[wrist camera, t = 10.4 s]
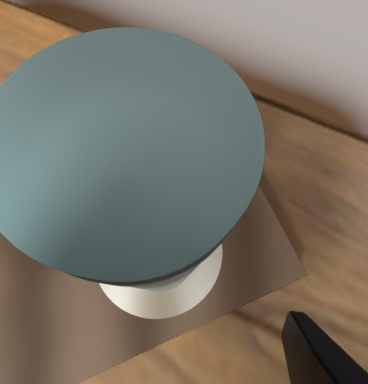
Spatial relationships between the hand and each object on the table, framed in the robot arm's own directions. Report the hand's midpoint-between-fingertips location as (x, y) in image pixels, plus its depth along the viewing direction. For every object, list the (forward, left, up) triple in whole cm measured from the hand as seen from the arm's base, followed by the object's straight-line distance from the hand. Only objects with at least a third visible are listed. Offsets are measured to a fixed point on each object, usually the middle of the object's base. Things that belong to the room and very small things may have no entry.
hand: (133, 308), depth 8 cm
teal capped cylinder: (+1, +3, -8) cm, 9 cm away
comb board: (-1, +4, -10) cm, 11 cm away
